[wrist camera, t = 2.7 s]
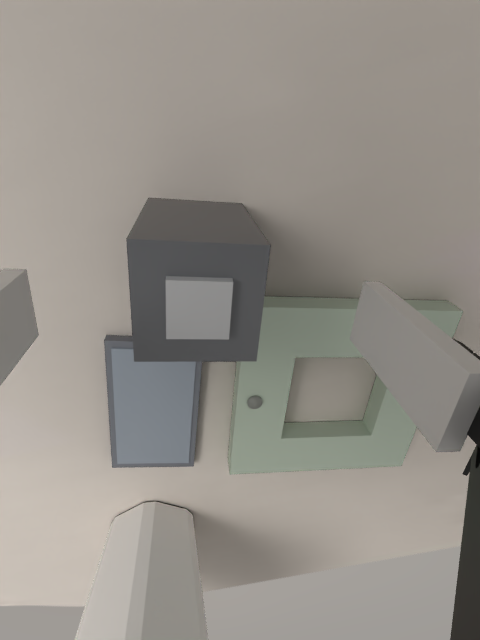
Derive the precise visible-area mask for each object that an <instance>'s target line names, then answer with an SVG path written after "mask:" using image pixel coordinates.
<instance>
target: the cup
mask: <svg viewBox="0 0 480 640" xmlns="http://www.w3.org/2000/svg"><path fill="white" fill-rule="evenodd" d="M75 640H208V633H207V625H206V617H205V610H204V601H203V593H202V585H201V577H200V569H199V562H198V554H197V546H196V538H195V530H194V522H193V515H192V514H191V513H190V512H189V511H188V510H187V509H183V508H179V507H175V506H172V505H168V504H164V503H160V502H156V501H155V502H146V503H142V504H140V505H138V506H136V507H134V508H132V509H130V510H128V511H127V512H125V513H123V514H121V515H119V516H117V517H115V519H114V520H113V522H112V523H111V526H110V530H109V533H108V536H107V539H106V542H105V545H104V549H103V552H102V555H101V558H100V561H99V564H98V568H97V571H96V574H95V577H94V580H93V583H92V586H91V590H90V593H89V596H88V599H87V602H86V605H85V609H84V612H83V615H82V618H81V621H80V624H79V628H78V631H77V634H76V637H75Z"/></svg>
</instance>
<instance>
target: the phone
mask: <svg viewBox="0 0 480 640" xmlns="http://www.w3.org/2000/svg"><path fill="white" fill-rule="evenodd" d="M104 344H105V360H106V376H107V392H108V408H109V424H110V440H111V456H112V468H117V467H188V466H194V455H195V442H196V430H197V418H198V405H199V393H200V381H201V368H202V362H134V353H133V336H117V335H106V337H105V340H104Z"/></svg>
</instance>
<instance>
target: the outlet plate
mask: <svg viewBox="0 0 480 640" xmlns="http://www.w3.org/2000/svg"><path fill="white" fill-rule="evenodd" d="M404 301H406V302H407V303H408V304H409V305H411V306H412V307H413V308H414V309H416V310H417V311H418V312H419V313H421V314H422V315H423V316H425V317H426V318H427V319H428V320H430V321H431V322H432V323H433V324H435V325H436V326H437V327H438V328H440V329H441V330H442V331H443V332H445V333H446V334H447V335H449V336H450V337H451V338H453V336H454V333H455V331H456V328H457V326H458V323H459V321H460V318H461V316H462V313H463V311H462V310H461V309H459V308H458V307H456V306H455V305H453V304H452V303H450V302H449V301H441V300H404ZM358 302H359V299H357V298H315V297H273V296H264V304H263V313H262V321H261V329H260V337H259V346H258V354H257V361H237V362H236V373H235V384H234V395H233V406H232V417H231V427H230V438H229V449H228V464H229V472H230V474H250V473H271V472H291V471H312V470H332V469H353V468H373V467H394V466H402V463H403V461H404V458H405V456H406V453H407V451H408V448H409V446H410V443H411V441H412V438H413V436H414V433H415V431H416V428H417V426H416V425H415V424H414V423H413V421H412V420H411V419H410V417H409V416H408V415H407V413H406V412H405V411H404V409H403V408H402V407H401V405H400V404H399V403H398V402H397V400H396V399H395V398H394V396H393V395H392V394H391V392H390V391H389V390H388V388H387V387H386V386H385V385H384V383H383V382H382V381H381V379H380V378H379V377H378V375H376V378H375V382H374V385H373V388H372V392H371V395H370V398H369V401H368V405H367V408H366V411H365V414H364V418H363V421H328V422H293V423H284V419H285V414H286V408H287V402H288V397H289V391H290V386H291V380H292V374H293V369H294V363H295V358H333V357H363V356H362V354H361V353H360V352H359V350H358V349H357V348H356V347H355V345H354V344H353V343H352V341H351V340H350V335H351V331H352V327H353V323H354V319H355V315H356V310H357V306H358Z"/></svg>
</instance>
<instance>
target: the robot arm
mask: <svg viewBox="0 0 480 640" xmlns="http://www.w3.org/2000/svg"><path fill="white" fill-rule="evenodd" d="M38 335H39V334H38V329H37V323H36V318H35V313H34V307H33V302H32V297H31V291H30V286H29V281H28V275H27V270H26V269H3V270H1V271H0V385H1V384H2V383H3V381H4V380H5V379H6V377H7V376H8V375H9V374H10V372H11V371H12V370H13V368H14V367H15V366H16V364H17V363H18V362H19V360H20V359H21V358H22V356H23V355H24V354H25V352H26V351H27V350H28V348H29V347H30V346H31V344H32V343H33V342H34V340H35V339H36V338H37V337H38ZM350 340H351V341H352V343H353V344H354V345H355V347H356V348H357V349H358V350H359V352H360V353H361V354H362V356H363V357H364V358H365V360H366V361H367V362H368V364H369V365H370V366H371V367H372V369H373V370H374V371H375V373H376V374H377V375H378V377H379V378H380V379H381V381H382V382H383V383H384V385H385V386H386V387H387V388H388V390H389V391H390V392H391V394H392V395H393V396H394V398H395V399H396V400H397V402H398V403H399V404H400V405H401V407H402V408H403V409H404V411H405V412H406V413H407V415H408V416H409V417H410V419H411V420H412V421H413V423H414V424H415V425H416V426H417V428H418V429H419V430H420V432H421V433H422V434H423V436H424V437H425V438H426V440H427V441H428V442H429V443H430V445H431V446H432V447H433V449H434V450H435V451H436V452H455V451H460V450H461V448H462V446H463V444H464V442H465V440H466V438H467V435H469V437H470V438H471V439H472V440H473V441H474V442H475V443H476V444H477V445H476V447H475V449H474V451H473V454H472V456H471V458H470V460H469V462H468V464H467V466H466V468H465V470H464V472H463V474H464V475H466V476H467V475H468V473H469V472H470V475H469V483H468V492H467V500H466V509H465V518H464V526H463V535H462V543H461V552H460V561H459V570H458V578H457V587H456V595H455V604H454V612H453V622H452V630H451V638H450V640H480V357H479V356H478V355H477V354H475V353H473V351H472V350H470V349H469V348H468V347H467V346H465V345H464V344H463V343H461V342H459V341H457V340H455V339H453V338H451V337H450V336H449V335H447V334H446V333H445V332H443V331H442V330H441V329H440V328H438V327H437V326H436V325H435V324H433V323H432V322H431V321H430V320H428V319H427V318H426V317H425V316H423V315H422V314H421V313H419V312H418V311H417V310H416V309H414V308H413V307H412V306H411V305H409V304H408V303H407V302H406V301H404V300H403V299H402V298H401V297H399V296H398V295H397V294H396V293H394V292H393V291H392V290H390V289H389V288H388V287H387V286H385V285H384V284H383V283H382V282H370V281H364V282H363V286H362V290H361V294H360V298H359V302H358V306H357V310H356V315H355V319H354V323H353V327H352V331H351V335H350Z"/></svg>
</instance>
